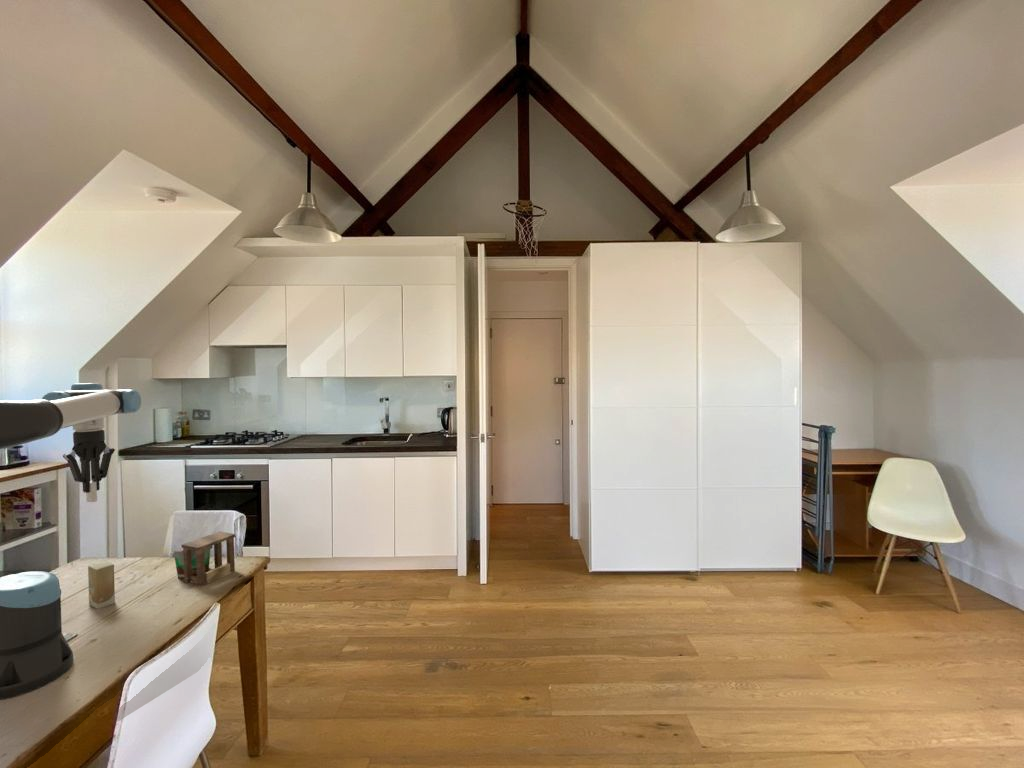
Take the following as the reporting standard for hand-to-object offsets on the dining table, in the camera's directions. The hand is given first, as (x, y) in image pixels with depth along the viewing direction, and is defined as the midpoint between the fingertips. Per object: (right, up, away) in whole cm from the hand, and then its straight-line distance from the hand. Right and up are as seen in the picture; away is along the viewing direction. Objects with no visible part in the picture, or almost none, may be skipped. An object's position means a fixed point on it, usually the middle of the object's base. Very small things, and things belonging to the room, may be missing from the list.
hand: (91, 501), depth 147 cm
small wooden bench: (+34, -28, +7) cm, 45 cm away
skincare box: (+13, -29, -10) cm, 33 cm away
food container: (+29, -28, +9) cm, 41 cm away
